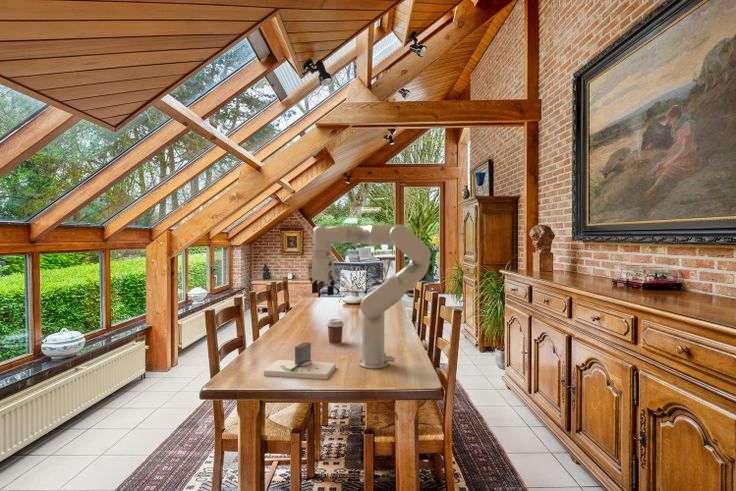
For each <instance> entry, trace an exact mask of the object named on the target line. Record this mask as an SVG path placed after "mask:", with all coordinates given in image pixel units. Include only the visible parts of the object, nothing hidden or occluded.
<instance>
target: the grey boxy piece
mask: <svg viewBox="0 0 736 491" xmlns="http://www.w3.org/2000/svg"><path fill="white" fill-rule="evenodd" d="M311 344H312V343H311V342H309V341H307V342H302V343H300V344H298V345H296V346H294V361H295V367H294V368H292V369H291V371H293V370H294V369H296V368H298V367H304V366H309V365H311V364H312V362H313V361H312V360H311V358H312V354H311V352H312V350H311V348H312V346H311Z"/></svg>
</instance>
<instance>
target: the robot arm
mask: <svg viewBox="0 0 736 491" xmlns="http://www.w3.org/2000/svg"><path fill="white" fill-rule="evenodd" d="M332 243H333V244H348V243H349V244H366V245H374V246H375V245H382V246H383V245H385V246H386V245H387V246H391V245H392V246H394V245H395V246H396V247H397V248H398V249H399V251H401V252H402V253H403V254H404V255H405V256H406V257H407V258H408V259H409V262H408V263H407V264H406V265H405V266H404V267H403V268H401V269H400V270H399V271H397V272H396V273H395V274H393V275H392V276H390V277H389V278H387V279H386V280H384V282H383V283H382V284H381V285H379V286H378V287H376V288H375V289H374V290H372V291H368V292H367V293H365V295H363V297H362V299H361V301H360V306H359V307H360V311H361V313H362V323H361V324H362V325H361V326H362V328H361V330H362V332H361V333H362V334H361V335H362V339H361V340H362V344H361V345H362V349H361V350H362V356H361V357H362V359H360V360H359V361H358V365H359V366H360V367H361V368H365V369H370V370H371V369H383V368H385V367H387V366H388V365H389V362H391V363H395V359H396V358H395V357H393V356H391V355H387V353H386V352H385V314H386V311H388V310H389V309H391V308H392V307H393V306H394V305H396V304H397V303H399V301H400V300H402V299H403V297H404V296H405V293H406V292H408V291H409V290H410V289H411V288H412V287H414V286H416V284H417V283H419V282H420V281H421V280H422V279H423V278H424V277H425V275H426V274H427V272H428V269H429V267H430V262H431V250H430V248H429V247H428V246H427V245H426V244H425V243H424V242H423V241H422V240H421V239H420V238H418V237H417V236H416V235H415V234H414V233H413V232H412V231H411V230H410V229H409V228H408V227H407V226H406V225H405V224H368V225H359V226H358V225H357V226H354V225H353V226H351V225H349V226H346V225H344V226H343V225H334V226H325V225H324V226H323V225H322V226H320V225H319V226H315V227H314V228H313V258H312V264H311V271H310V272H309V273H308V274H307V275H308V278H309V282H310V284H311V293H312V294H318V293H319V283H318V282H326V284H327V286H326V287H327V289H326V292H327V293H326V294H327V296H330V297H331V296H334V295H335V294H334V293H335V291H334V288H335V285H336V283H337V281H338V277H339V276H338V275H337V274H336V273H335V265H334V264H335V263H334V260H333V259H334V258H332V255H333V253H332Z"/></svg>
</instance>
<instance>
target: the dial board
mask: <svg viewBox="0 0 736 491" xmlns="http://www.w3.org/2000/svg"><path fill="white" fill-rule="evenodd" d="M294 367H295V360H287V359H277V360H275V361H274V362H272V364H270V365H269V366H267V368H265V369H264V370H263V376H267V377H281V378H284V377H285V378H297V379H298V378H299V379H301V378H302V379H311V380H312V379H313V380H314V379H316V380H327V379H328V378H330V376H331V375H332V373H333V372H334V370H335V369H336V367H337V364H336V362H326V361H325V362H324V361H312V364H311V365H309V366H304V367H298V368H296V369H294V370H293V371H291V369H292V368H294Z"/></svg>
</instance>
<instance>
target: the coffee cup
mask: <svg viewBox="0 0 736 491" xmlns="http://www.w3.org/2000/svg"><path fill="white" fill-rule="evenodd" d="M325 324H326V327H327V333H328V334H327V335H328V345H330V346H340V345H341V344H342V342H343V340H342V339H343V326H345V323H344V322H343V320H342V319H340V318H332V319H331V318H330V319H329V320H328V322H327V323H325Z"/></svg>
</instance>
